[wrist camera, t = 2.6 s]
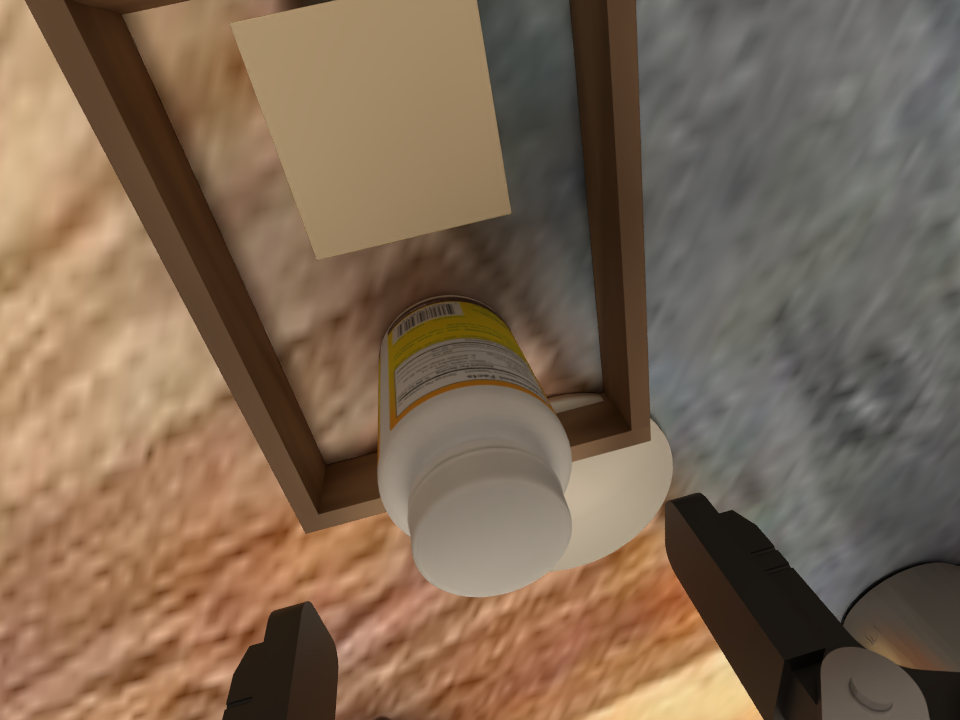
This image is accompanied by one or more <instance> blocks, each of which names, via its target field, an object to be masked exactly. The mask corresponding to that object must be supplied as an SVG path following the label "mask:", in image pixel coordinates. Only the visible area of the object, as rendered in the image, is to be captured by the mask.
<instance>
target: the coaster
mask: <svg viewBox="0 0 960 720" xmlns="http://www.w3.org/2000/svg"><path fill="white" fill-rule="evenodd" d="M547 399H548V401H549V402H550V404H551V406H552V408H553V410H554V411H555V413H560V412H564V411H567V410H571V409H575V408H579V407H583V406H586V405H590V404H594V403H598V402H601V401H604V400H603V398H602V397H601V396H600V394H597V393H574V394H565V395H560V396H555V397H550V398H547ZM650 428H651V441H649V442H645V443H641V444H637V445H634V446H630V447H626V448H623V449H619V450H615V451H611V452H608V453H604V454H600V455H597V456H593V457H589V458H585V459H582V460H578V461H574V462H572V469H571V475H570V480H569V483H568V486H567V489H566V491H565V493H564V497H565V500H566V502H567V505H568V508H569V510H570V514H571V519H572V533H571V539H570V542H569V544H568V547H567V549H566V551H565V553H564V554H563V556H562V557H561V559H560V560H559V561H558V562H557V563H556V565H555V566H554V567H553V568H552V569H551V570H550V571H549V572H552V571H560V570H566V569H571V568H575V567H579V566H582V565H585V564H588V563H591V562H593V561H596V560H598V559H600V558H603V557H605V556H607V555H609V554H610V553H612V552H614V551H616V550H617V549H619V548H620V547H622V546H624V545H625V544H626V543H628V542H629V541H630V540H632V539H633V538H634V537H635V536H637V535H638V534H639V533H640V532H641V531H642V530H643V529H644V528H645V527H646V526H647V525H648V523H649V522H650V521H651V520H652V519H653V518H654V516H655V515H656V513H657V512H658V510H659V509H660V507H661V505H662V504H663V502H664V500H665V498H666V495H667V493H668V490H669V488H670V484H671V479H672V471H673V461H672V453H671V450H670V446H669V443H668V441H667V439H666V437H665V435H664V434H663V432H662V431H661V430H660V428H659V427H658V426H657V424H656V423H655V422H654V421H653V420H652V418H650Z"/></svg>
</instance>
